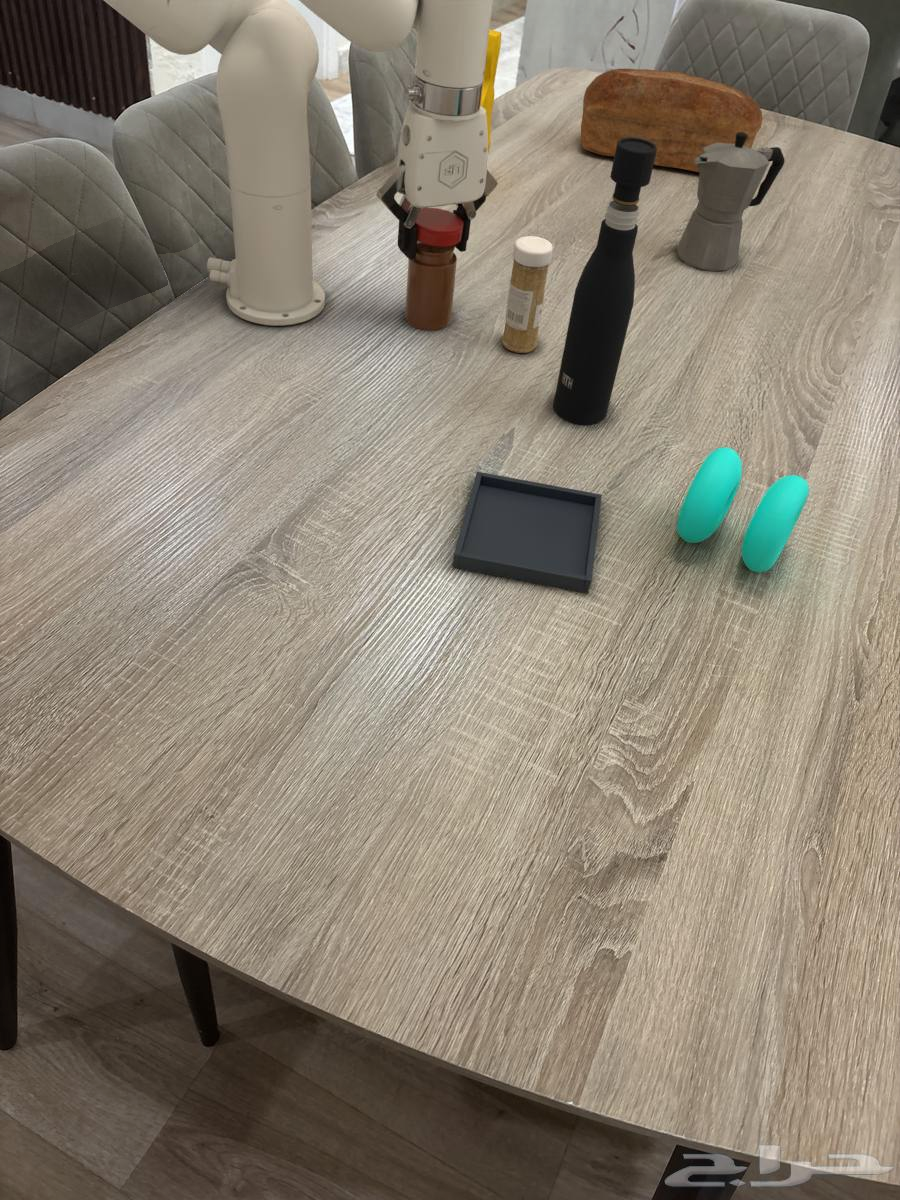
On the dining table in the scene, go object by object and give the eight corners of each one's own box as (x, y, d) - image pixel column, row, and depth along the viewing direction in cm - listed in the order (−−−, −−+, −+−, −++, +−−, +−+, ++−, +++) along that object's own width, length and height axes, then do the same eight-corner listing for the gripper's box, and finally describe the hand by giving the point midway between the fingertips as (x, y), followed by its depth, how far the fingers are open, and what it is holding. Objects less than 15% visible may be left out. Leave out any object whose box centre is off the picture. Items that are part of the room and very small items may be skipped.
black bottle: (611, 402, 112) (675, 140, 91) (600, 430, 108) (664, 163, 87) (560, 388, 114) (611, 127, 92) (546, 416, 109) (597, 149, 88)
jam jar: (402, 327, 120) (406, 251, 113) (407, 304, 125) (412, 230, 117) (449, 332, 120) (456, 257, 113) (452, 309, 125) (459, 235, 117)
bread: (745, 187, 163) (770, 104, 153) (570, 155, 166) (585, 71, 157) (747, 162, 171) (771, 81, 161) (581, 131, 175) (595, 51, 165)
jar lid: (471, 236, 116) (473, 221, 114) (444, 252, 111) (446, 236, 110) (426, 218, 117) (428, 203, 116) (398, 233, 113) (400, 217, 112)
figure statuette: (459, 155, 162) (472, 9, 146) (502, 165, 160) (520, 19, 145) (421, 192, 150) (431, 37, 134) (467, 203, 148) (482, 48, 133)
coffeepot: (686, 277, 137) (722, 149, 124) (652, 248, 143) (684, 122, 130) (771, 265, 142) (814, 141, 129) (735, 238, 148) (773, 116, 135)
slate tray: (452, 567, 90) (453, 554, 89) (475, 483, 99) (476, 471, 98) (588, 593, 89) (591, 580, 88) (598, 506, 98) (601, 494, 97)
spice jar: (543, 349, 120) (561, 247, 110) (514, 357, 118) (530, 255, 108) (522, 332, 122) (537, 231, 112) (493, 340, 120) (507, 238, 110)
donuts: (757, 596, 91) (793, 518, 84) (662, 553, 94) (689, 474, 87) (788, 540, 97) (824, 463, 90) (699, 502, 100) (726, 425, 93)
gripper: (392, 113, 98) (383, 275, 111) (531, 101, 105) (507, 254, 118) (361, 88, 102) (356, 246, 115) (496, 78, 109) (477, 228, 122)
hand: (432, 249), depth 116 cm, fingers closed on jar lid, 6 cm apart
